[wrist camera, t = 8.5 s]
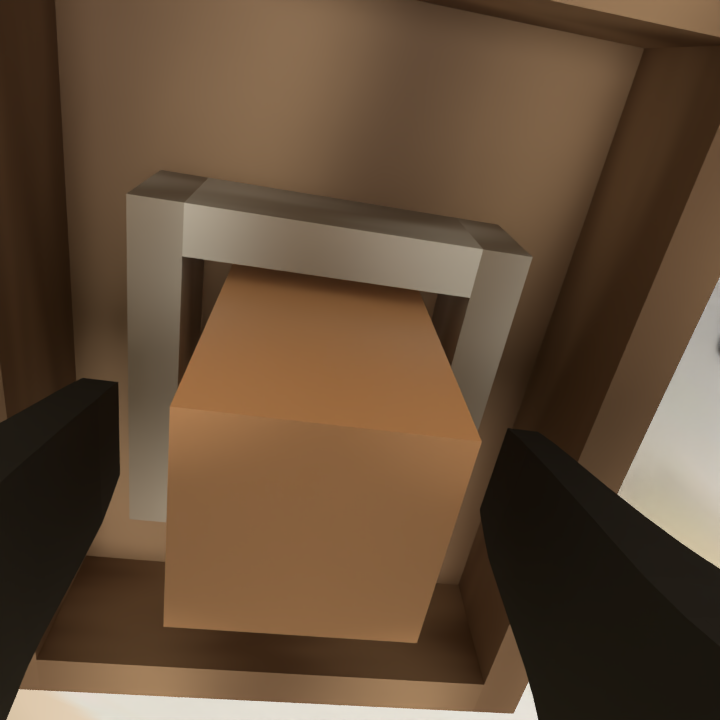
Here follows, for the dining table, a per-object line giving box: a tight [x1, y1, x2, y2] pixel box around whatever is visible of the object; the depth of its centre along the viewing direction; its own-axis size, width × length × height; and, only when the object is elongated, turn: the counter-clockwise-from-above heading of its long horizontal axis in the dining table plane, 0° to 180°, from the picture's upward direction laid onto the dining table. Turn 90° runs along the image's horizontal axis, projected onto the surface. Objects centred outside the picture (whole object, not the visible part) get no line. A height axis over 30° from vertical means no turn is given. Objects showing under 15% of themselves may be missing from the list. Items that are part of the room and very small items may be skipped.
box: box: [0, 0, 720, 713], centre depth 13 cm, size 14×18×4 cm
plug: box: [163, 264, 482, 643], centre depth 11 cm, size 4×4×7 cm
